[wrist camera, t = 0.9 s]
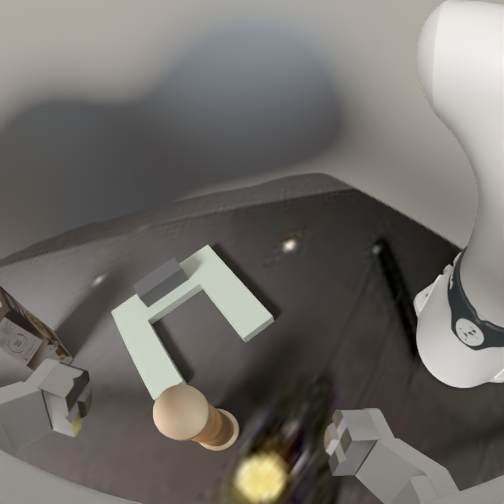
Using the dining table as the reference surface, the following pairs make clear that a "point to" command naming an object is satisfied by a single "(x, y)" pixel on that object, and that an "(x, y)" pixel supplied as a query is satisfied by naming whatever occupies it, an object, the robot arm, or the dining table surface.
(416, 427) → the dining table surface
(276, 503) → the dining table surface
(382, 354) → the dining table surface
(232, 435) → the bobbin
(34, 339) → the coffee box
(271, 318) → the notched board
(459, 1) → the robot arm
